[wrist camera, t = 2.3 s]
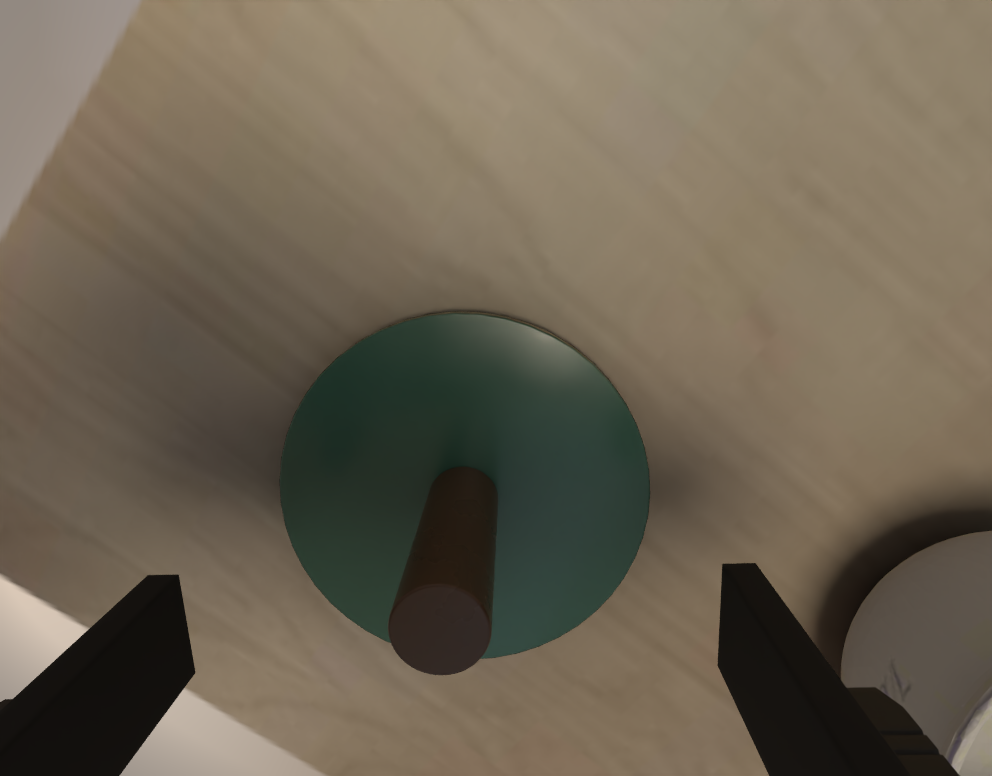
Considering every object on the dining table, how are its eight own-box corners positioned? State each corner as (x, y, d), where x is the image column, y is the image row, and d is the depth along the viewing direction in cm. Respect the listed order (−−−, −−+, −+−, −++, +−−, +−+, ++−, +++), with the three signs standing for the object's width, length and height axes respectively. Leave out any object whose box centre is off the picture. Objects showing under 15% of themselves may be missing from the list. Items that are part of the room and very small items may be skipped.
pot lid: (237, 549, 24) (86, 723, 15) (382, 240, 21) (294, 246, 13) (536, 690, 25) (548, 924, 17) (711, 415, 22) (835, 528, 14)
